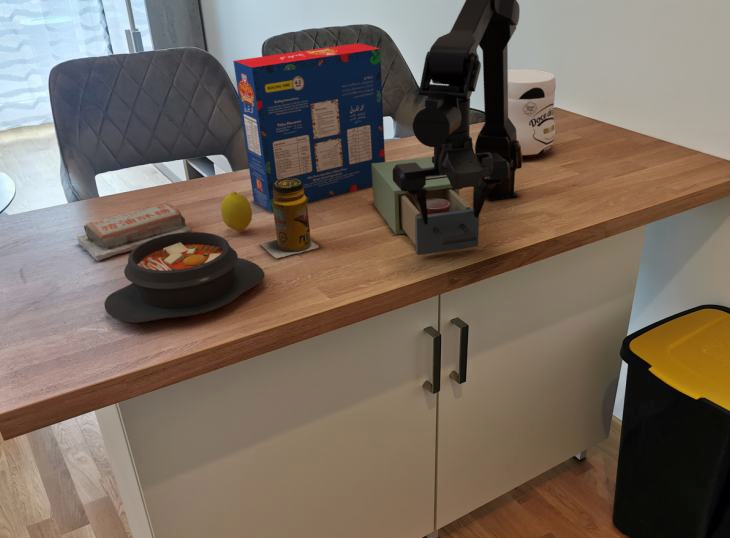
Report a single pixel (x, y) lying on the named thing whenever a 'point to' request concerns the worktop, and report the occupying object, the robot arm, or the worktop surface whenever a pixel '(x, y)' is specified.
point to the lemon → (236, 211)
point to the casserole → (181, 278)
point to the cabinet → (398, 189)
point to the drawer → (439, 224)
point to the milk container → (532, 109)
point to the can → (437, 206)
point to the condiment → (290, 219)
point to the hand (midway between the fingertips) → (451, 220)
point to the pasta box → (312, 119)
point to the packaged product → (131, 230)
